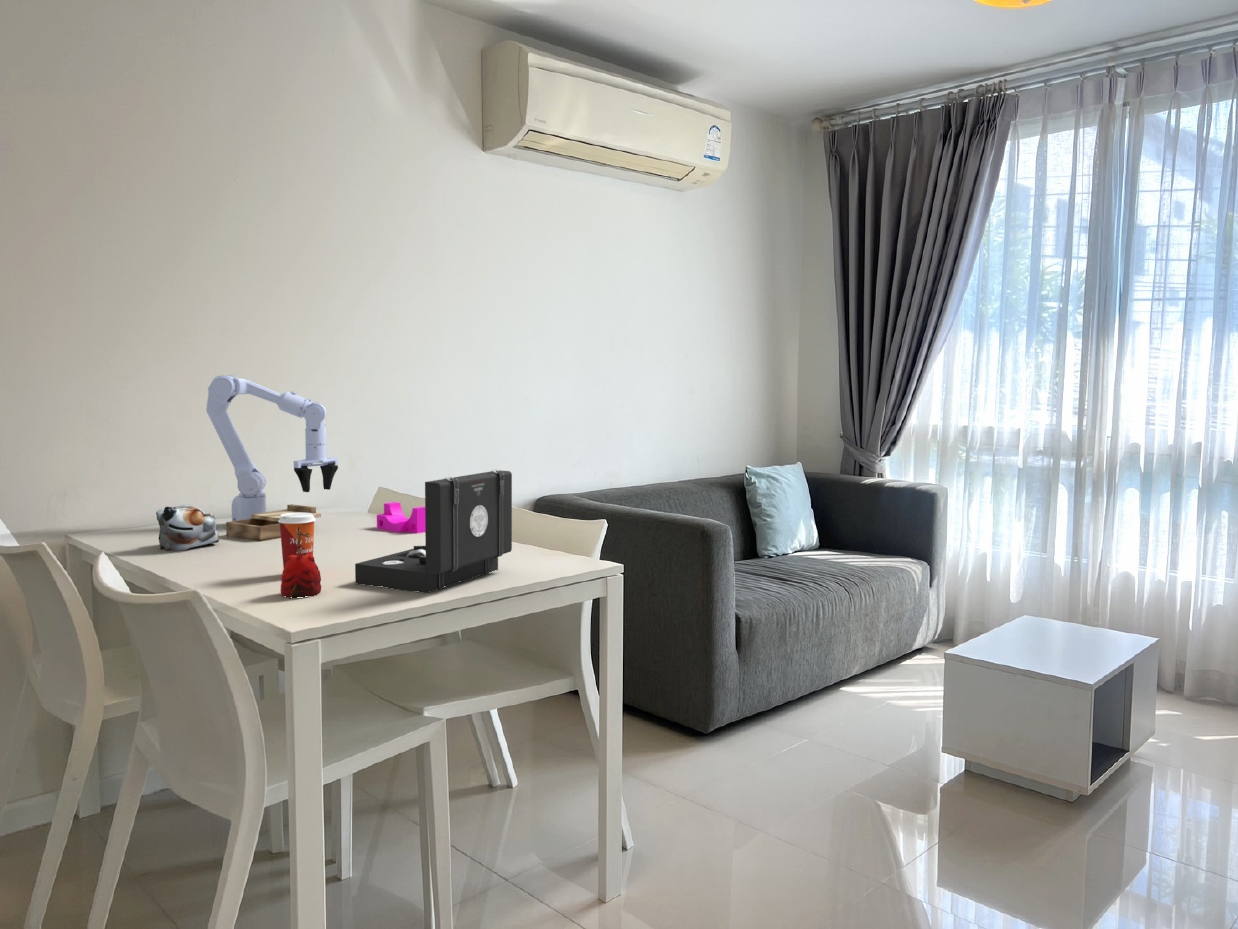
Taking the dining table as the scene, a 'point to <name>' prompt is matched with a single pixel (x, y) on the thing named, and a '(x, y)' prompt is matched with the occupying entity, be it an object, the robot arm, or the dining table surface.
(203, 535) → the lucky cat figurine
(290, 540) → the paper cup
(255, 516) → the lid
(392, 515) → the toy block
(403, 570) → the watch box
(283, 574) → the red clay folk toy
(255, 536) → the walnut box
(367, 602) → the dining table surface
